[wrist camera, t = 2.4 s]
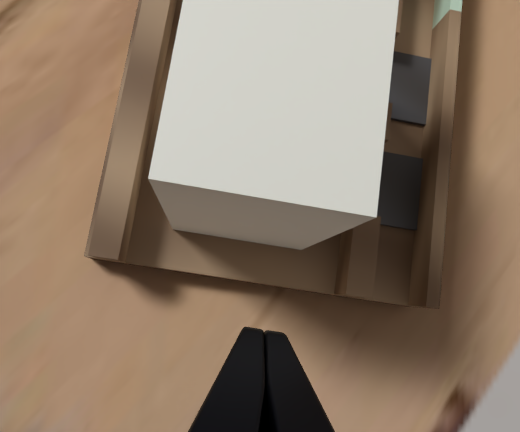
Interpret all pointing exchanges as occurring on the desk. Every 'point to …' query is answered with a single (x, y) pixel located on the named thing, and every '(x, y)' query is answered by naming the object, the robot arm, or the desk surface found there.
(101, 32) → the desk surface
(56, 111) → the desk surface
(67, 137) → the desk surface
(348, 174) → the block
